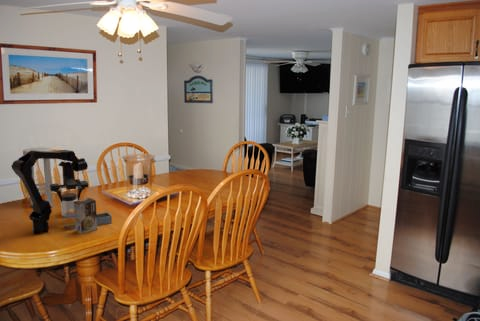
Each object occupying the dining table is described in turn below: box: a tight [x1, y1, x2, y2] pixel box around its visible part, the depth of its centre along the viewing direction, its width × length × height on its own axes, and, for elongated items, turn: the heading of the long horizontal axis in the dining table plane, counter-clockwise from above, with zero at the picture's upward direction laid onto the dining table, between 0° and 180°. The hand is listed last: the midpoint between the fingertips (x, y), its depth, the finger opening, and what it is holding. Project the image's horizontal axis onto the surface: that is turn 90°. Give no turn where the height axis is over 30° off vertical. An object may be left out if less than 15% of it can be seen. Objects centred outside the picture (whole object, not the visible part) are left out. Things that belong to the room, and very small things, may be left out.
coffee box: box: [74, 197, 98, 235], centre depth 199 cm, size 9×6×16 cm
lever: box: [65, 213, 75, 220], centre depth 208 cm, size 14×13×2 cm
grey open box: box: [96, 211, 113, 227], centre depth 212 cm, size 8×8×4 cm
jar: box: [60, 192, 78, 218], centre depth 222 cm, size 9×8×12 cm
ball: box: [67, 209, 74, 215], centre depth 202 cm, size 3×3×3 cm
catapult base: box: [63, 223, 76, 231], centre depth 205 cm, size 15×6×6 cm, turn 124°
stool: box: [22, 147, 54, 207], centre depth 237 cm, size 16×16×35 cm
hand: (70, 201), depth 210 cm, fingers open, 8 cm apart
